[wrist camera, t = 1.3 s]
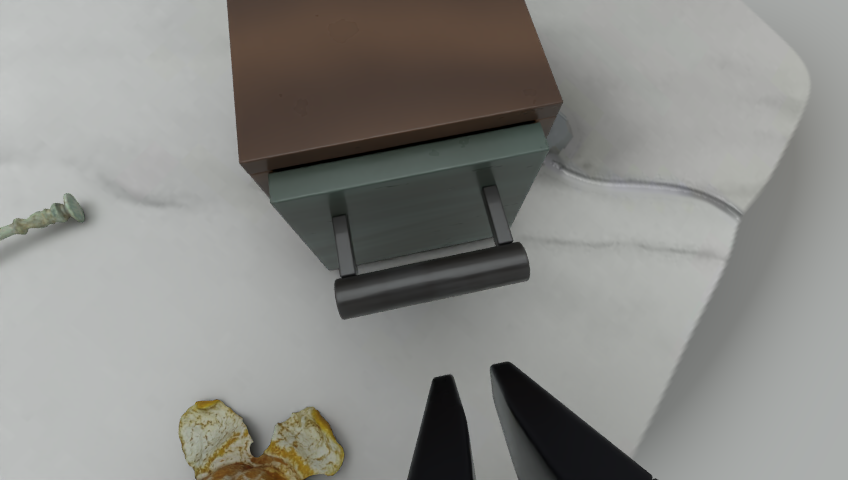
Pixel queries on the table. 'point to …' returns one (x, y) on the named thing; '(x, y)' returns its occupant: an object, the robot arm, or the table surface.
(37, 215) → the soupspoon
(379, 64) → the cabinet
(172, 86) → the table surface
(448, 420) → the robot arm
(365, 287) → the drawer
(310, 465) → the fruit
